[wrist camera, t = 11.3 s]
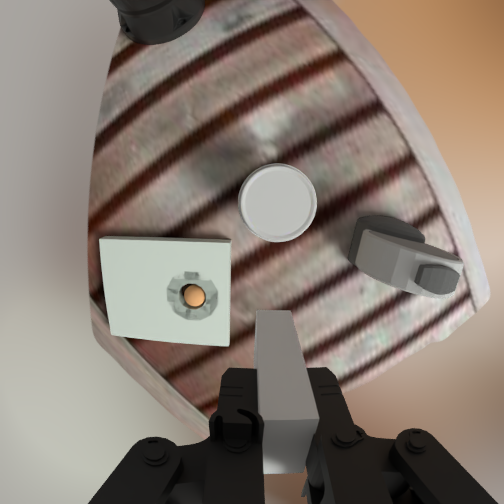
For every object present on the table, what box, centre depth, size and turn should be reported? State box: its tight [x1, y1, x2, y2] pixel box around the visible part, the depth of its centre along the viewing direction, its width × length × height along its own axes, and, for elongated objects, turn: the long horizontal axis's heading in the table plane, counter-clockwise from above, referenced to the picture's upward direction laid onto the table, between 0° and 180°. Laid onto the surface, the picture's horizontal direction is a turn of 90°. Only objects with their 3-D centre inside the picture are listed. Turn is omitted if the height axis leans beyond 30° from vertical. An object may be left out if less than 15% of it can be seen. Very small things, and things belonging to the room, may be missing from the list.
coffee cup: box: [238, 163, 317, 242], centre depth 40 cm, size 9×9×12 cm
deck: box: [99, 236, 231, 346], centre depth 48 cm, size 22×18×2 cm
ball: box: [184, 285, 205, 306], centre depth 48 cm, size 4×4×4 cm
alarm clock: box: [348, 216, 464, 299], centre depth 39 cm, size 16×10×18 cm, turn 79°
